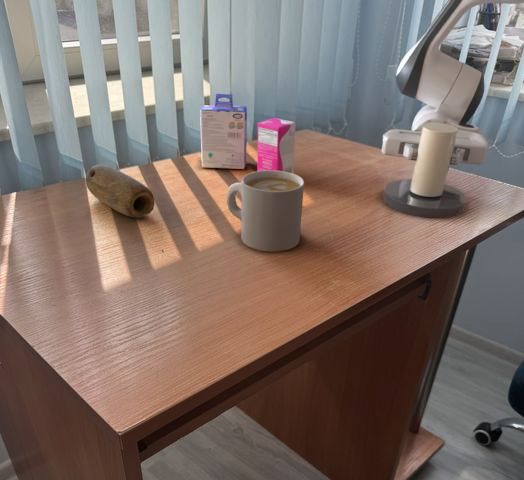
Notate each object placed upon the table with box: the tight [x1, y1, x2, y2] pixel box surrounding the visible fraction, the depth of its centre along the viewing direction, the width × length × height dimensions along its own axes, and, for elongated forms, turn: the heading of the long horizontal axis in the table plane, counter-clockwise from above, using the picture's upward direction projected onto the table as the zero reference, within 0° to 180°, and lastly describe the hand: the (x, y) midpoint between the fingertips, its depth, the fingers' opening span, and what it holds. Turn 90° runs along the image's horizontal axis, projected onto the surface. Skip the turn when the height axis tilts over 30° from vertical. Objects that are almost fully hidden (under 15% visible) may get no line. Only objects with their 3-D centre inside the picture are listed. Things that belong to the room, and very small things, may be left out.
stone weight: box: [85, 164, 155, 218], centre depth 95 cm, size 15×7×7 cm, turn 49°
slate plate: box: [382, 178, 467, 219], centre depth 104 cm, size 16×16×2 cm
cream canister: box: [410, 123, 458, 197], centre depth 100 cm, size 6×6×12 cm
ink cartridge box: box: [199, 93, 248, 170], centre depth 114 cm, size 10×6×14 cm, turn 89°
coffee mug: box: [226, 170, 305, 252], centre depth 87 cm, size 13×10×10 cm
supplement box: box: [256, 117, 296, 174], centre depth 109 cm, size 6×6×12 cm
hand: (434, 158), depth 99 cm, fingers closed on cream canister, 6 cm apart
